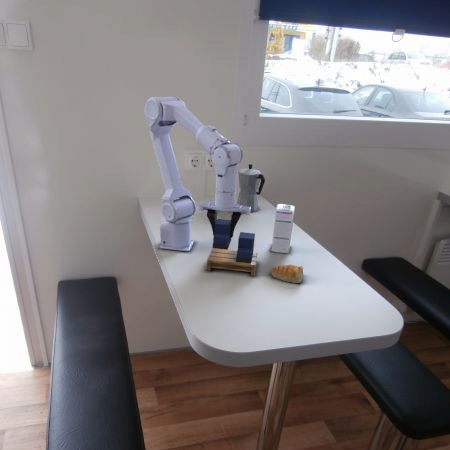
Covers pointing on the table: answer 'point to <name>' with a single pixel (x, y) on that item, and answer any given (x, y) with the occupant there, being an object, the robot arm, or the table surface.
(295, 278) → the pastry
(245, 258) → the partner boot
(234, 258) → the shoe rack
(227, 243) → the blue block
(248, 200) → the coffeepot
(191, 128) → the robot arm
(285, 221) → the syrup box
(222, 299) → the table surface
